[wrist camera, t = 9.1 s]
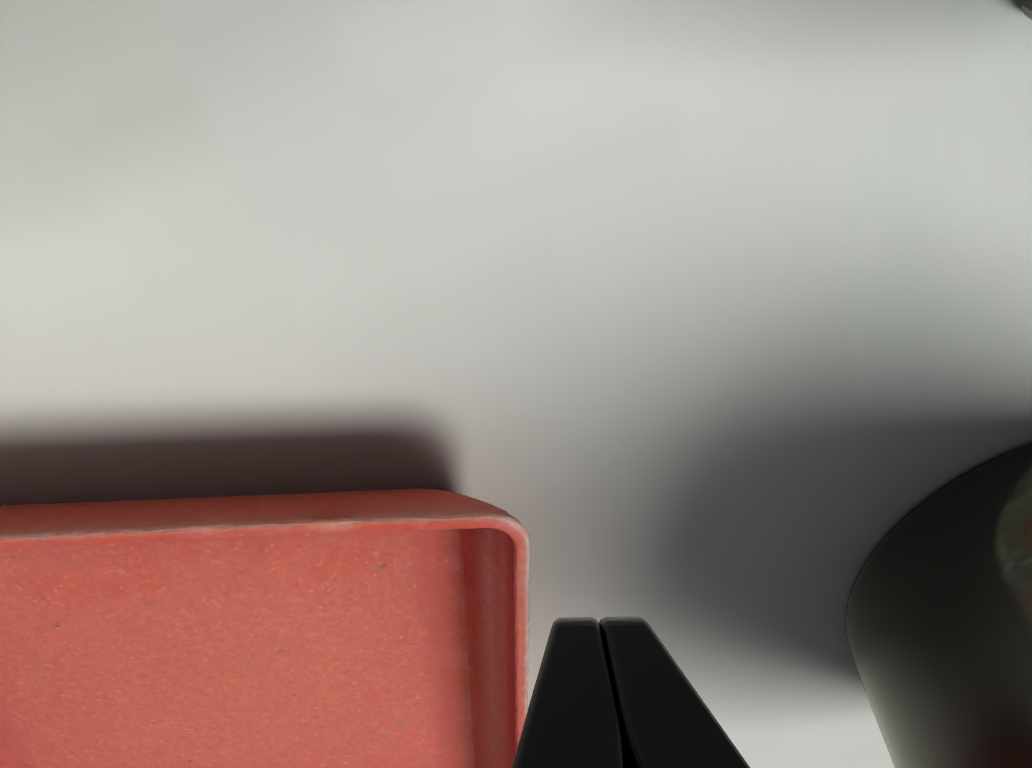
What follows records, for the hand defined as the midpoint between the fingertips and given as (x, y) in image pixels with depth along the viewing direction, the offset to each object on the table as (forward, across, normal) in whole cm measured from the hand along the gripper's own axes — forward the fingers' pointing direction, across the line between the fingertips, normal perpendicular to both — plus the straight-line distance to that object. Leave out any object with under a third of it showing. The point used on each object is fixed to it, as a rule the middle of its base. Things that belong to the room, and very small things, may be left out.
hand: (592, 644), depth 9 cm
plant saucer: (+13, +8, +17) cm, 23 cm away
